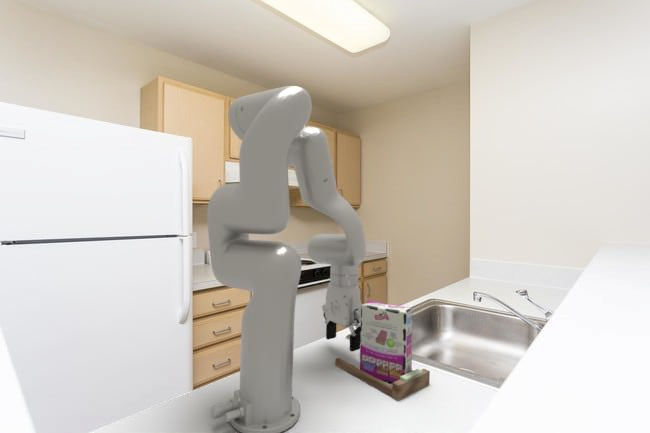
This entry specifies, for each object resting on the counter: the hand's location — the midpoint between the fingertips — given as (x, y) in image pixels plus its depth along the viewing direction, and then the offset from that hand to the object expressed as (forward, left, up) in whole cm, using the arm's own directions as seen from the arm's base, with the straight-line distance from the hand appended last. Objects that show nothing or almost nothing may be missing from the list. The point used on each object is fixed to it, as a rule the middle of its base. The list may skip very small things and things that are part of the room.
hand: (342, 343), depth 86 cm
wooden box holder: (0, -14, -3) cm, 14 cm away
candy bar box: (0, -15, -3) cm, 15 cm away
